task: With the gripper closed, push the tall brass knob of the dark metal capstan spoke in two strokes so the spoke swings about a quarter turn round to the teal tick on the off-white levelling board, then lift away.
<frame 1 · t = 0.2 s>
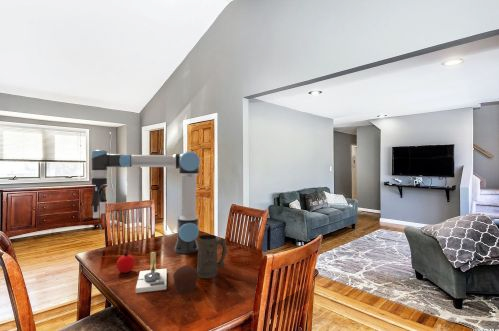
hand: (99, 215, 150), 28 cm above the table, fingers open, 13 cm apart
capstan: (152, 266, 131), point 7 cm above the table, hinge at 0.0°
stand: (152, 281, 130), on the table
ornament: (125, 272, 141), on the table
muffin: (185, 289, 123), on the table
beer stein: (211, 273, 140), on the table
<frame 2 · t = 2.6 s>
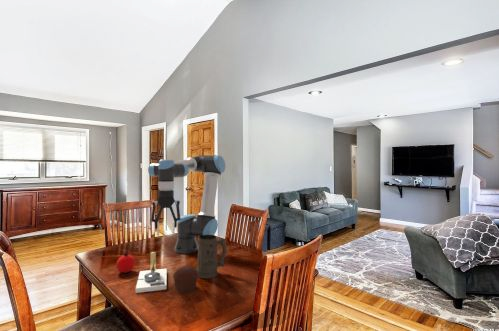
hand: (165, 234, 137), 21 cm above the table, fingers open, 7 cm apart
nothing on the table moved.
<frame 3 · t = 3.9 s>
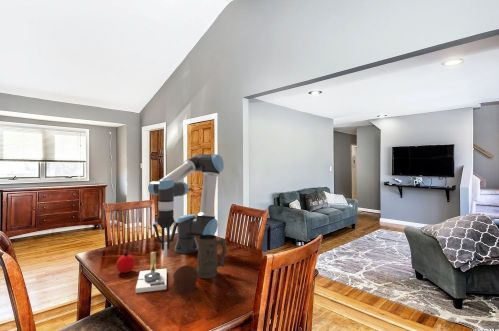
hand: (165, 255, 137), 10 cm above the table, fingers closed
nothing on the table moved.
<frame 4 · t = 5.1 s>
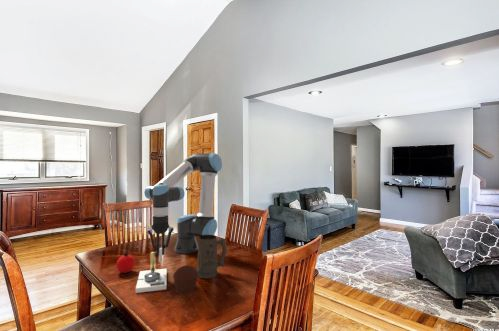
hand: (160, 261, 136), 8 cm above the table, fingers closed
capstan: (152, 266, 131), point 7 cm above the table, hinge at 0.8°, touching gripper
everything else where it was.
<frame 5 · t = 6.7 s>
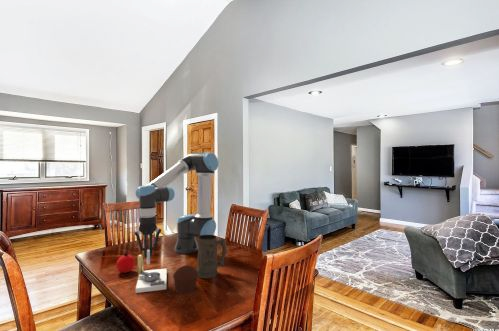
hand: (148, 263, 133), 7 cm above the table, fingers closed
capstan: (147, 267, 129), point 7 cm above the table, hinge at 46.0°, touching gripper
everything else where it was.
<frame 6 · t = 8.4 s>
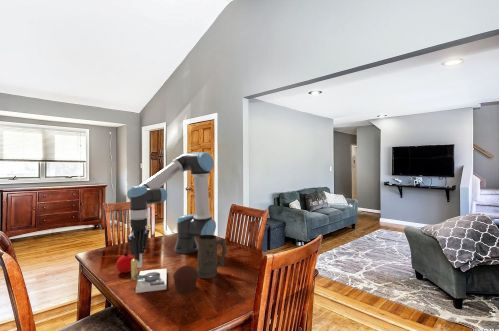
hand: (138, 266, 129), 7 cm above the table, fingers closed
capstan: (145, 268, 127), point 7 cm above the table, hinge at 90.5°, touching gripper
everything else where it was.
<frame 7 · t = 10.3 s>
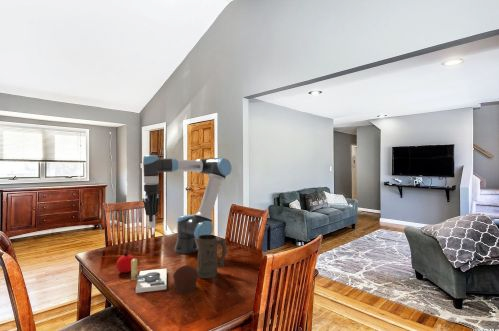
hand: (152, 227, 145), 23 cm above the table, fingers closed
capstan: (145, 268, 127), point 7 cm above the table, hinge at 90.6°
everything else where it was.
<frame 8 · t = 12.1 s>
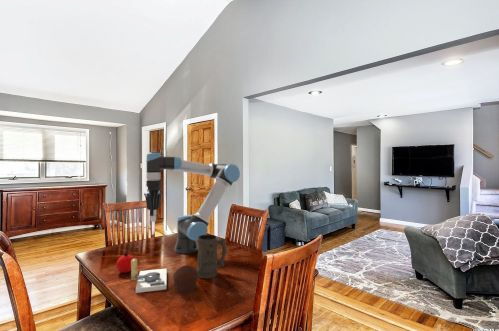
hand: (153, 221, 152), 24 cm above the table, fingers closed
nothing on the table moved.
at the end: capstan at +91° (first picture: +0°) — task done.
